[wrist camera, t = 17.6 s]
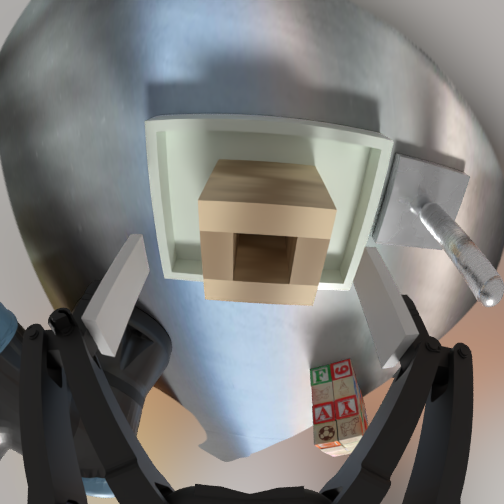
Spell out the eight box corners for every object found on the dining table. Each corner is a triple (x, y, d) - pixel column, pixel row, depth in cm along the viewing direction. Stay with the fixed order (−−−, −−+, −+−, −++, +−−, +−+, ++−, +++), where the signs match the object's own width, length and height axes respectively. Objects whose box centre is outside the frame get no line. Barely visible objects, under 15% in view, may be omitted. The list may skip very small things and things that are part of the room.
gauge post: (372, 237, 23) (424, 350, 13) (395, 152, 18) (493, 239, 8) (437, 244, 23) (496, 337, 13) (464, 172, 18) (552, 251, 8)
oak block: (219, 239, 23) (205, 299, 18) (218, 159, 19) (197, 200, 13) (302, 244, 23) (312, 305, 17) (314, 165, 19) (337, 209, 13)
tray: (171, 260, 26) (164, 278, 24) (157, 115, 18) (144, 121, 16) (343, 272, 26) (349, 290, 24) (380, 132, 17) (393, 140, 15)
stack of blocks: (365, 402, 46) (372, 455, 36) (336, 409, 48) (341, 462, 38) (349, 357, 35) (362, 436, 25) (308, 368, 37) (313, 446, 27)
